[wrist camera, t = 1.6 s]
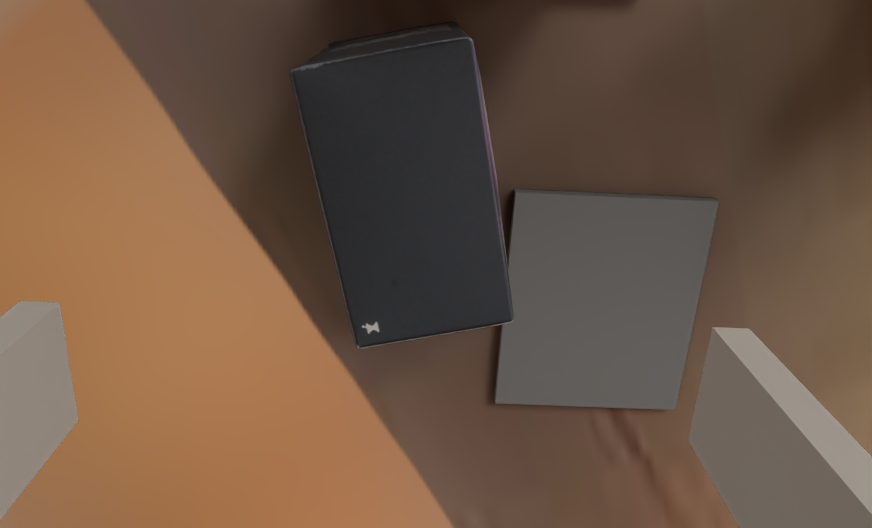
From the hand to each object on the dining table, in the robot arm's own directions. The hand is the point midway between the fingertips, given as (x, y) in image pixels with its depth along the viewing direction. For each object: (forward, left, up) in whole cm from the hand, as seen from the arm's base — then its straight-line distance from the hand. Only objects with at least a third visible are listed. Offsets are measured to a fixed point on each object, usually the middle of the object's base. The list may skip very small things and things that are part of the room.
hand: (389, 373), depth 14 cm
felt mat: (-10, +8, -21) cm, 25 cm away
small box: (0, 0, -21) cm, 21 cm away
